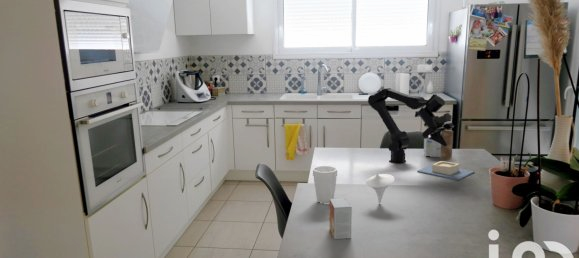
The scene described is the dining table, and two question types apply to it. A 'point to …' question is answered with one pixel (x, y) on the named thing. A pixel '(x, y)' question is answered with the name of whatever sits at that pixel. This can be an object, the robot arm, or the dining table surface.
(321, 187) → the foam cup
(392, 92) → the robot arm
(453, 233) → the dining table surface
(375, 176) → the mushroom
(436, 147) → the light bulb box
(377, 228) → the dining table surface
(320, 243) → the dining table surface
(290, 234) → the dining table surface
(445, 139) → the walnut column
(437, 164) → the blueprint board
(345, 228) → the small box
